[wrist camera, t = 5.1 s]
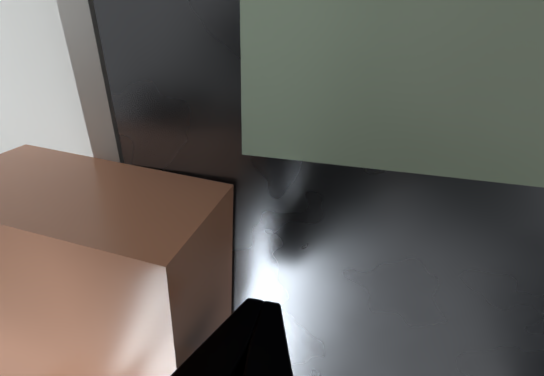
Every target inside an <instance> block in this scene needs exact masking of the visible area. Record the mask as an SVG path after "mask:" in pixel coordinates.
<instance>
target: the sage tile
mask: <svg viewBox="0 0 544 376" xmlns="http://www.w3.org/2000/svg"><path fill="white" fill-rule="evenodd" d="M240 48H241V122H242V155H252V156H261V157H270V158H279V159H288V160H297V161H306V162H315V163H325V164H334V165H343V166H352V167H361V168H370V169H379V170H388V171H397V172H407V173H416V174H425V175H434V176H443V177H452V178H461V179H470V180H480V181H489V182H498V183H507V184H516V185H525V186H534V187H543V188H544V0H240Z"/></svg>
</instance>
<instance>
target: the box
mask: <svg viewBox="0 0 544 376" xmlns="http://www.w3.org/2000/svg"><path fill="white" fill-rule="evenodd" d="M25 144H27V145H32V146H37V147H43V148H48V149H53V150H58V151H63V152H68V153H73V154H79V155H84V156H89V157H94V158H99V159H104V160H109V161H115V162H120V163H124V159H123V154H122V148H121V143H120V138H119V133H118V128H117V122H116V117H115V112H114V107H113V102H112V97H111V91H110V86H109V81H108V76H107V71H106V66H105V60H104V55H103V50H102V45H101V40H100V34H99V29H98V24H97V19H96V14H95V9H94V3H93V0H0V154H1V153H4V152H7V151H9V150H12V149H15V148H17V147H20V146H23V145H25Z"/></svg>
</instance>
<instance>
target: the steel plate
mask: <svg viewBox="0 0 544 376" xmlns="http://www.w3.org/2000/svg"><path fill="white" fill-rule="evenodd" d="M93 3H94V9H95V14H96V19H97V24H98V29H99V34H100V40H101V45H102V50H103V55H104V60H105V66H106V71H107V76H108V81H109V86H110V91H111V97H112V102H113V107H114V112H115V117H116V122H117V128H118V133H119V138H120V143H121V148H122V154H123V159H124V164H130V165H135V166H140V167H145V168H150V169H156V170H161V171H166V172H171V173H176V174H181V175H186V176H192V177H197V178H202V179H207V180H212V181H217V182H222V183H227V184H233V244H232V304H231V314H232V313H233V312H234V311H235V310H236V309H237V308H238V307H239V306H240V305H241V304H242V303H243V302H244V301H245V300H246V299H247V298H255V299H260V300H263V301H271V302H276V303H279V304H280V305H281V310H282V315H283V321H284V327H285V332H286V338H287V344H288V349H289V355H290V361H291V367H292V372H293V376H544V188H543V187H534V186H525V185H516V184H507V183H498V182H489V181H480V180H470V179H461V178H452V177H443V176H434V175H425V174H416V173H407V172H397V171H388V170H379V169H370V168H361V167H352V166H343V165H334V164H325V163H315V162H306V161H297V160H288V159H279V158H270V157H261V156H252V155H242V122H241V48H240V0H93Z"/></svg>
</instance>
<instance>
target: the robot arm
mask: <svg viewBox="0 0 544 376" xmlns="http://www.w3.org/2000/svg"><path fill="white" fill-rule="evenodd" d="M170 376H293V372H292V367H291V361H290V355H289V349H288V344H287V338H286V332H285V327H284V321H283V315H282V310H281V305H280V304H279V303H276V302H271V301H263V300H260V299H255V298H247V299H246V300H245V301H244V302H243V303H242V304H241V305H240V306H239V307H238V308H237V309H236V310H235V311H234V312H233V313H232V314H231V315H230V316H229V317H228V318H227V319H226V320H225V321H224V322H223V323H222V324H221V325H220V326H219V327H218V328H217V329H216V330H215V331H214V332H213V333H212V334H211V335H210V336H209V337H208V338H207V339H206V340H205V341H204V342H203V343H202V344H201V345H200V346H199V347H198V348H197V349H196V350H195V351H194V352H193V353H192V354H191V355H190V356H189V357H188V358H187V359H186V360H185V361H184V362H183V363H182V364H181V365H180V366H179V367H178V368H177V369H176V370H175V371H174V372H173V373H172V374H171V375H170Z"/></svg>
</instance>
